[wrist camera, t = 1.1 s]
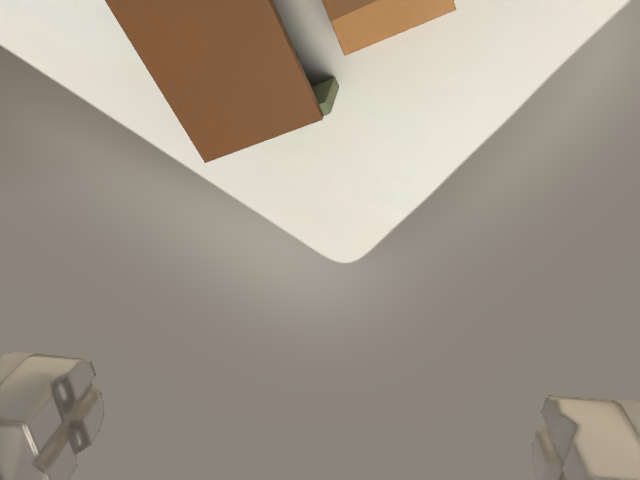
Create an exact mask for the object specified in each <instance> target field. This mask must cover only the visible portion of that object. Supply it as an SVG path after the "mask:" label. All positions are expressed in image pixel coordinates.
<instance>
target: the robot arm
mask: <svg viewBox="0 0 640 480" xmlns="http://www.w3.org/2000/svg"><path fill="white" fill-rule="evenodd" d="M95 376H96V373H95V370H94V367H93V365H92V362H91V361H89V360H86V359H80V358H70V357H62V356H52V355H43V354H27V353H18V352H9V353H6V354H4V355H1V356H0V480H69V479H70V477H71V475H72V474H73V472H74V471H75V469H76V468H77V457H76V454H78V453H79V452H81V451H82V450H84V449H85V448H87V447H88V446H90V445H91V444H92V442H93V441H94V439H95V437H96V436H97V434H98V432H99V431H100V427H101V424H102V420H103V417H104V400H103V397H102V393H101V392H100V391H99V390H98V389H97V388H95V387H94V386H93V385H92V384H91V383H92V381H93V379H94V378H95ZM542 415H543V418H544V420H545V423H546V424H544V425H543V426H542V427H540V428H539V429H538V430H536V433H535V437H534V441H533V467H534V472H535V477H536V480H640V401H628V400H609V399H596V398H581V397H567V396H552V395H549V396H548V398H547V399H546V400H545V402H544V405H543V408H542Z"/></svg>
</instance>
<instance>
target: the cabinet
mask: <svg viewBox="0 0 640 480" xmlns="http://www.w3.org/2000/svg"><path fill="white" fill-rule="evenodd" d="M105 1H106V3H107V4H108V6H109V8H110V9H111V11H112V13H113V14H114V16H115V17H116V19H117V21H118V22H119V24H120V26H121V27H122V29H123V30H124V32H125V34H126V35H127V37H128V39H129V40H130V42H131V43H132V45H133V47H134V48H135V50H136V51H137V53H138V55H139V56H140V58H141V60H142V61H143V63H144V64H145V66H146V68H147V69H148V71H149V73H150V74H151V76H152V77H153V79H154V81H155V82H156V84H157V86H158V87H159V89H160V90H161V92H162V94H163V95H164V97H165V99H166V100H167V102H168V103H169V105H170V107H171V108H172V110H173V112H174V113H175V115H176V116H177V118H178V120H179V121H180V123H181V124H182V126H183V128H184V129H185V131H186V133H187V134H188V136H189V137H190V139H191V141H192V142H193V144H194V146H195V147H196V149H197V150H198V152H199V154H200V155H201V157H202V159H203V160H204V162H205V163H206V162H209V161H212V160H214V159H217V158H220V157H222V156H225V155H228V154H231V153H233V152H236V151H239V150H241V149H244V148H247V147H250V146H252V145H255V144H258V143H260V142H263V141H266V140H268V139H271V138H274V137H277V136H279V135H282V134H285V133H287V132H290V131H293V130H296V129H298V128H301V127H304V126H306V125H309V124H312V123H314V122H317V121H320V120H322V119H323V117H324V115H327V114H330V113H331V110H332V107H333V104H334V101H335V98H336V95H337V92H338V89H339V86H338V83H337V81H336V79H335V77H333V78H331V79H328V80H326V81H323V82H321V83H318V84H316V85H313V86H310V83H309V81H308V79H307V77H306V75H305V72H304V70H303V68H302V66H301V63H300V61H299V59H298V57H297V54H296V52H295V50H294V48H293V45H292V43H291V41H290V39H289V36H288V34H287V32H286V30H285V27H284V25H283V23H282V21H281V18H280V16H279V14H278V12H277V9H276V7H275V5H274V3H273V1H272V0H105Z"/></svg>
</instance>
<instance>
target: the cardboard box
mask: <svg viewBox="0 0 640 480" xmlns="http://www.w3.org/2000/svg"><path fill="white" fill-rule="evenodd" d="M322 1H323V4H324V6H325V9H326V12H327V14H328V17H329V19H330V21H331V23H332V25H333V28H334V31H335V33H336V36H337V38H338V41H339V43H340V46H341V48H342V51H343V53H344V55H348V54H350V53H352V52H355V51H357V50H360V49H362V48H364V47H367V46H369V45H372V44H374V43H377V42H379V41H381V40H384V39H386V38H389V37H391V36H394V35H396V34H398V33H401V32H403V31H406V30H408V29H410V28H413V27H415V26H418V25H420V24H423V23H425V22H427V21H430V20H432V19H435V18H437V17H439V16H442V15H444V14H447V13H449V12H452V11H454V10H456V8H455V4H454V0H322Z"/></svg>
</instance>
